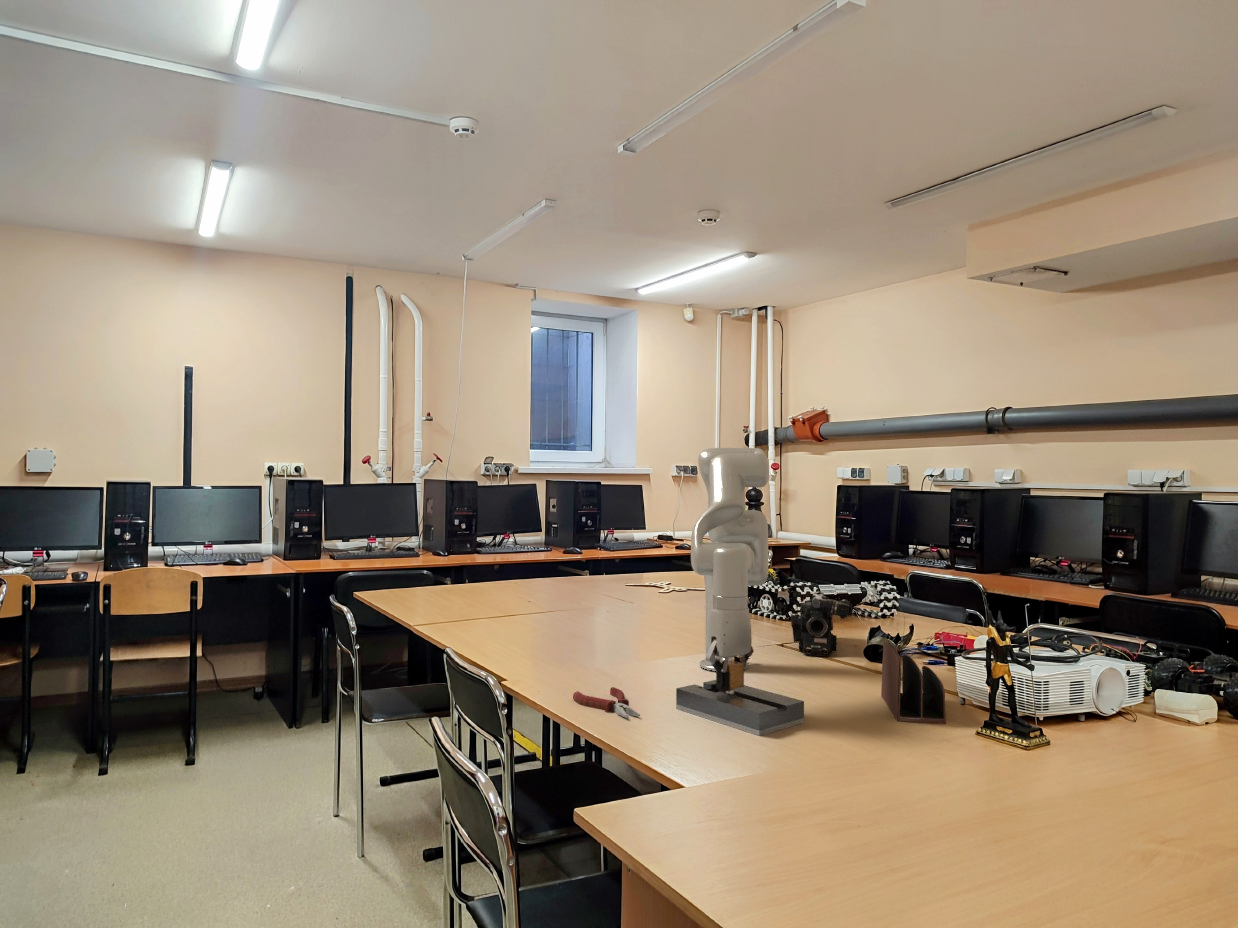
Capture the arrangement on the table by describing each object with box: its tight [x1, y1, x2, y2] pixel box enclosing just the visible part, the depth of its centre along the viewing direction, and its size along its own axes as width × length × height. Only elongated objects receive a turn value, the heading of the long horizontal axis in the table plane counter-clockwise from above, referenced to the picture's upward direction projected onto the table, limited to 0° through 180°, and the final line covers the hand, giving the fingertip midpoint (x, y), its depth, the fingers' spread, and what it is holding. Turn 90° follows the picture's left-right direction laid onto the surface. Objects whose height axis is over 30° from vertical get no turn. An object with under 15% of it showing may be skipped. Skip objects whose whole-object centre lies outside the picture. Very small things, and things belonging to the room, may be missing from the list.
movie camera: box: [790, 591, 854, 657], centre depth 244 cm, size 31×18×18 cm, turn 162°
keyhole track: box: [675, 679, 805, 737], centre depth 174 cm, size 14×24×4 cm, turn 39°
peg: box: [721, 660, 743, 696], centre depth 176 cm, size 4×4×10 cm
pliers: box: [572, 686, 641, 719], centre depth 180 cm, size 12×20×3 cm, turn 27°
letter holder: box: [880, 641, 947, 725], centre depth 180 cm, size 10×20×14 cm, turn 171°
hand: (730, 686), depth 176 cm, fingers closed on peg, 4 cm apart
